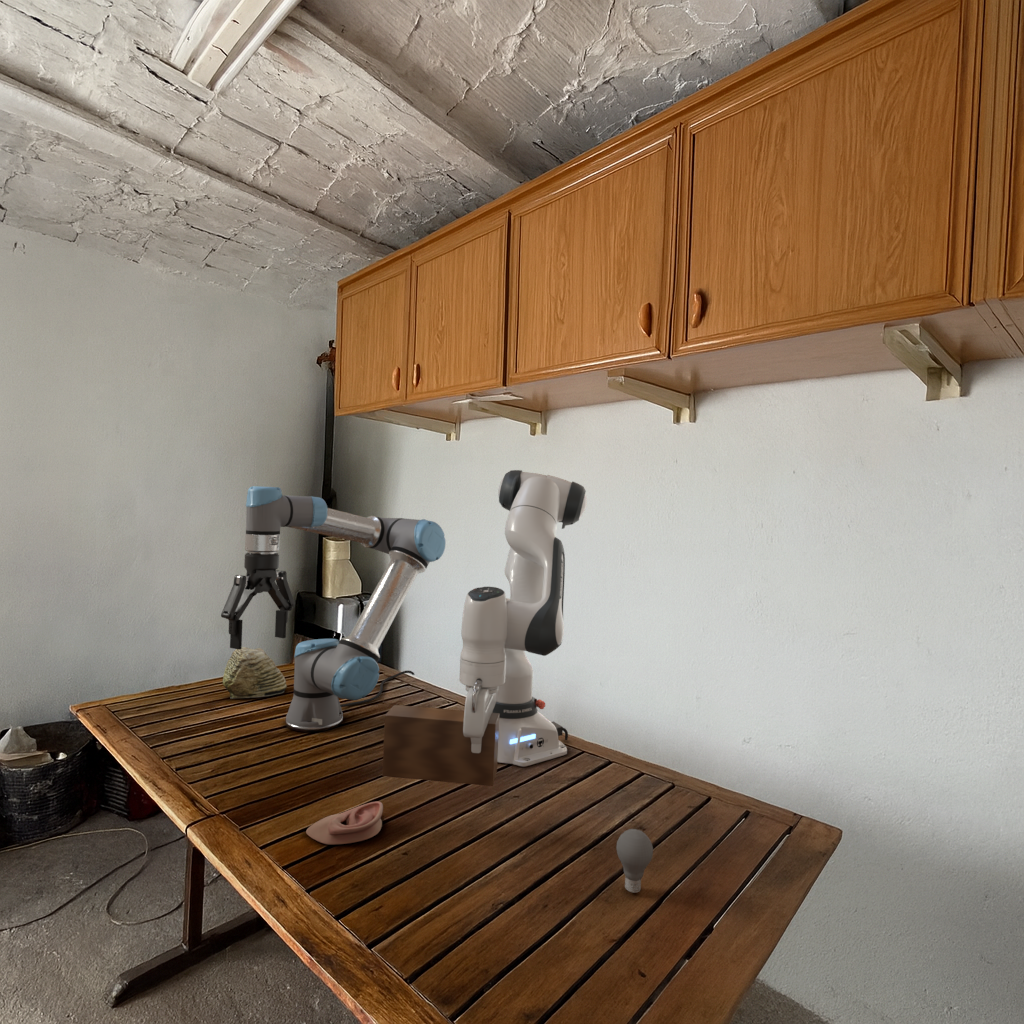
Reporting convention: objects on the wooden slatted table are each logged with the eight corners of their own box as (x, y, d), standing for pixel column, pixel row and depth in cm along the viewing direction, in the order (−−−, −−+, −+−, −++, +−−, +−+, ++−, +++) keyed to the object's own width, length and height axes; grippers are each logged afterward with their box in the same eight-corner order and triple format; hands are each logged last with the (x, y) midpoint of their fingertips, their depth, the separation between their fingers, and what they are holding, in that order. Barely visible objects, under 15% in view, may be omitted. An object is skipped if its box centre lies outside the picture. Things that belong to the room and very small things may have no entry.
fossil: (218, 695, 195) (220, 647, 195) (278, 685, 208) (279, 640, 207) (228, 703, 189) (230, 653, 188) (289, 692, 201) (290, 645, 201)
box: (382, 776, 121) (384, 715, 121) (391, 763, 127) (394, 704, 127) (492, 786, 119) (495, 724, 119) (496, 772, 125) (499, 713, 125)
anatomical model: (298, 818, 116) (328, 791, 128) (297, 839, 116) (327, 810, 128) (365, 829, 114) (390, 800, 125) (364, 851, 114) (389, 820, 125)
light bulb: (610, 879, 108) (613, 822, 108) (644, 879, 109) (647, 822, 109) (619, 902, 102) (622, 840, 102) (655, 901, 103) (658, 840, 103)
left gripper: (230, 557, 135) (227, 655, 135) (311, 550, 158) (308, 635, 158) (205, 554, 138) (202, 651, 138) (288, 548, 161) (285, 631, 161)
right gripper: (491, 689, 111) (488, 767, 111) (504, 660, 132) (501, 726, 132) (456, 687, 112) (453, 764, 112) (474, 658, 132) (471, 724, 132)
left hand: (258, 642), depth 148 cm, fingers open, 13 cm apart
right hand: (479, 743), depth 122 cm, fingers closed on box, 6 cm apart
